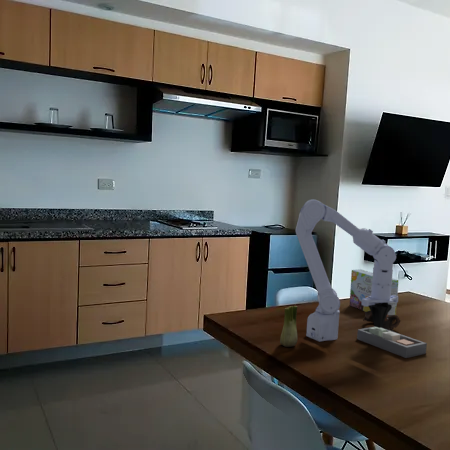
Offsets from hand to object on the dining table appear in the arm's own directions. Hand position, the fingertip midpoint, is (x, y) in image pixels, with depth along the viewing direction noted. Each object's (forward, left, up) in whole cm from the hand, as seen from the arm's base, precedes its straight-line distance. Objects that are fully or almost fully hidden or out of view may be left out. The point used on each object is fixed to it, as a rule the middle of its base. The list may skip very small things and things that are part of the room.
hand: (378, 326), depth 151 cm
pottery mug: (+13, +10, -6) cm, 17 cm away
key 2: (0, -10, -4) cm, 11 cm away
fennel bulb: (-27, +10, -6) cm, 29 cm away
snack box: (+30, +28, -6) cm, 41 cm away
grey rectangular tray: (0, -5, -5) cm, 7 cm away
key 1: (0, 0, -3) cm, 3 cm away
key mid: (0, -5, -3) cm, 6 cm away
